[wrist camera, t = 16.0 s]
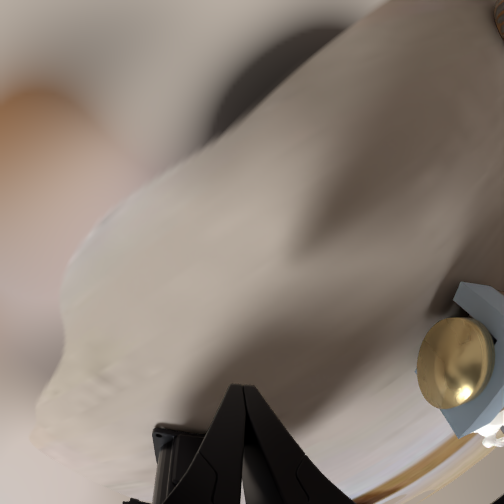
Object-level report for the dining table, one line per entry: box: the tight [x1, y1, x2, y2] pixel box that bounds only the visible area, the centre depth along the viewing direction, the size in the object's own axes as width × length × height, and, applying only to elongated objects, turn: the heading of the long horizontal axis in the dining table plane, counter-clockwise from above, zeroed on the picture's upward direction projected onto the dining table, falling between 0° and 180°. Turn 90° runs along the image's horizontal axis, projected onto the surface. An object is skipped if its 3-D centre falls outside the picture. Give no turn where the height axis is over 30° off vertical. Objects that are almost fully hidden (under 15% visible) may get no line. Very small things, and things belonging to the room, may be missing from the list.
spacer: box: [415, 282, 504, 439], centre depth 12 cm, size 4×7×6 cm, turn 170°
